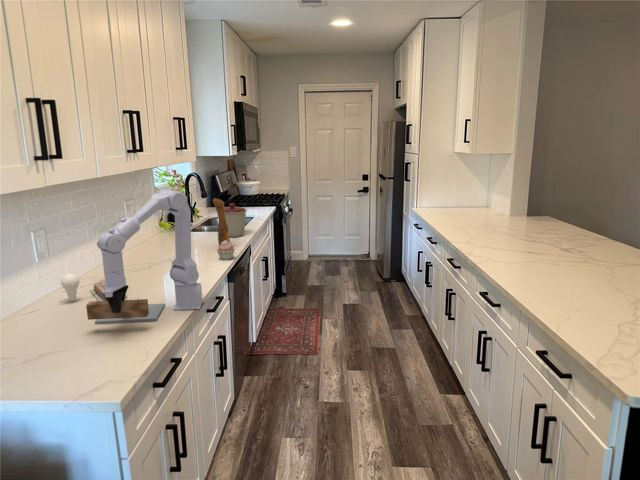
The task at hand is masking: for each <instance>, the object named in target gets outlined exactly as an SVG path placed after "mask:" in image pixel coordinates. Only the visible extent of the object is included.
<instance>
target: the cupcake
mask: <svg viewBox="0 0 640 480" xmlns="http://www.w3.org/2000/svg"><path fill="white" fill-rule="evenodd" d="M216 251H217V254H218V256H219V259H220V261H229V260H233V258H234V254H235V251H236V249H235V248H234V246H233V243H231V242H230V243H228V241H226V240H225V241H223V242H222V243H221V245H220V246H219V245H218V249H217V250H216Z"/></svg>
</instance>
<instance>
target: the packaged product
mask: <svg viewBox="0 0 640 480" xmlns="http://www.w3.org/2000/svg"><path fill="white" fill-rule="evenodd" d="M103 283H105V279H103V280H100V281H99V282H96V283H94V284H93V288H92V289H89V292H90V293H91V295H93V297H94V298H95V300H97V301H107V300H106V298H105V297H104V295H103V294H104V293H105V292H104V291H105V287H102V284H103ZM125 300H128V295H127V294H126V296H125Z"/></svg>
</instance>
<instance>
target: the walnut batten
mask: <svg viewBox="0 0 640 480" xmlns="http://www.w3.org/2000/svg"><path fill="white" fill-rule="evenodd" d="M148 304H149V300H148V298H146V299H145V298H144V299H143V298H141V299H139V300H131V299H125V300H121V311H120V313H113V312H112V309H111V307H110V305H109V303H108V301H98V300H97V301H95V300H94V301H89V302H88V303H87V304H86V308H85V309H86V314H87V321H88V320H96V319H114V318H136V317H147V316H148V314H149V309H148Z"/></svg>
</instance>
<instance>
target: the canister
mask: <svg viewBox="0 0 640 480" xmlns="http://www.w3.org/2000/svg"><path fill="white" fill-rule="evenodd" d="M224 211H225V218H226V222H227V227H228V233H229V238H239V237H242V236H243V235H244V233H245V227H246V225H245V224H246V217H247V215H246V214H247V211H248V209H246V208H245V207H242V206H241V207H240V206H236V204H235V203H233V202H231V203H229V204H228V206H224Z"/></svg>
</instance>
